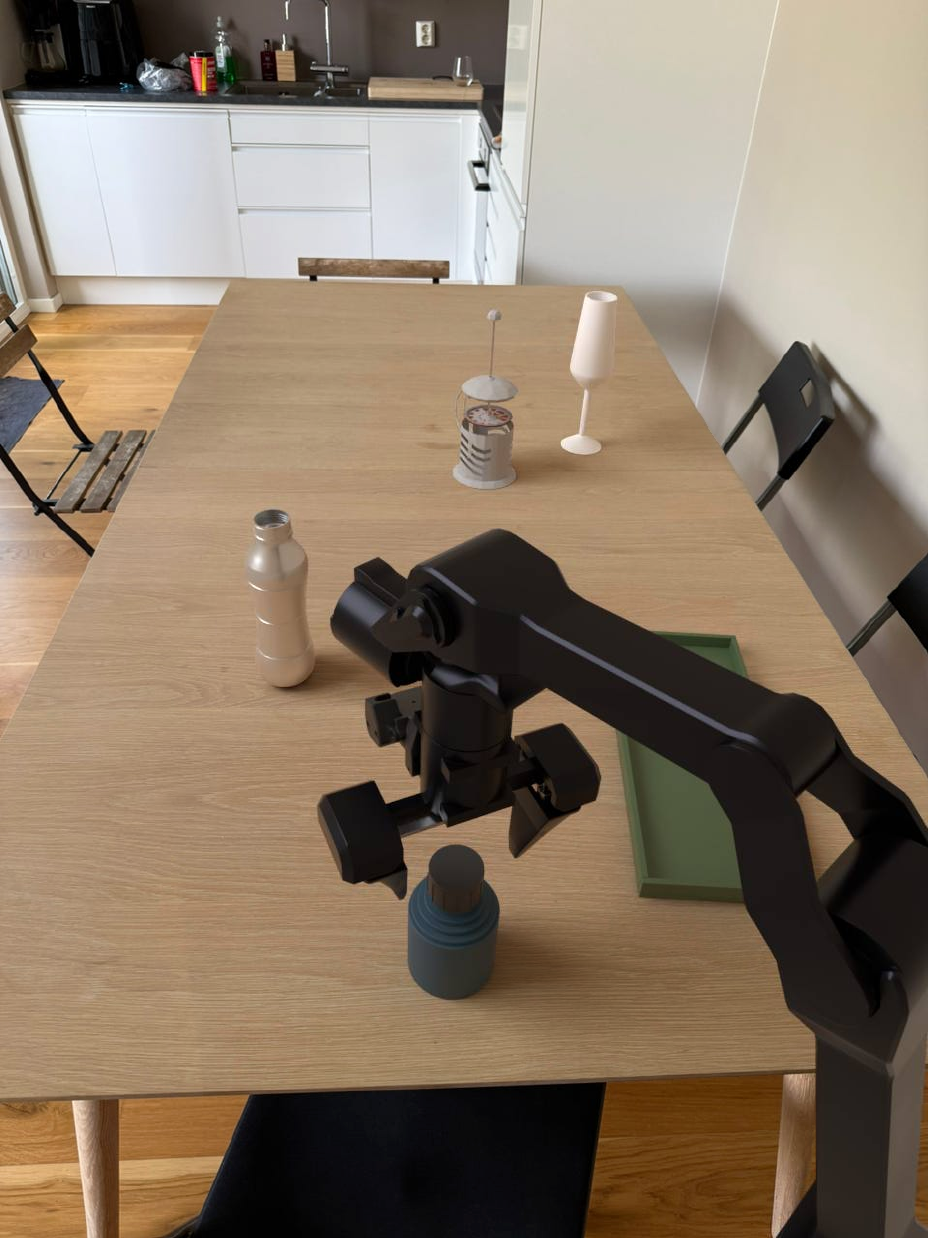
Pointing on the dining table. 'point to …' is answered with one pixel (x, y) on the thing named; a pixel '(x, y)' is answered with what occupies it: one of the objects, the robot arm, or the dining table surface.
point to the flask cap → (455, 878)
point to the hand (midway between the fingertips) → (458, 873)
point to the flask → (451, 944)
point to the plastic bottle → (279, 600)
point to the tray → (680, 808)
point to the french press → (486, 430)
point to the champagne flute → (592, 360)
